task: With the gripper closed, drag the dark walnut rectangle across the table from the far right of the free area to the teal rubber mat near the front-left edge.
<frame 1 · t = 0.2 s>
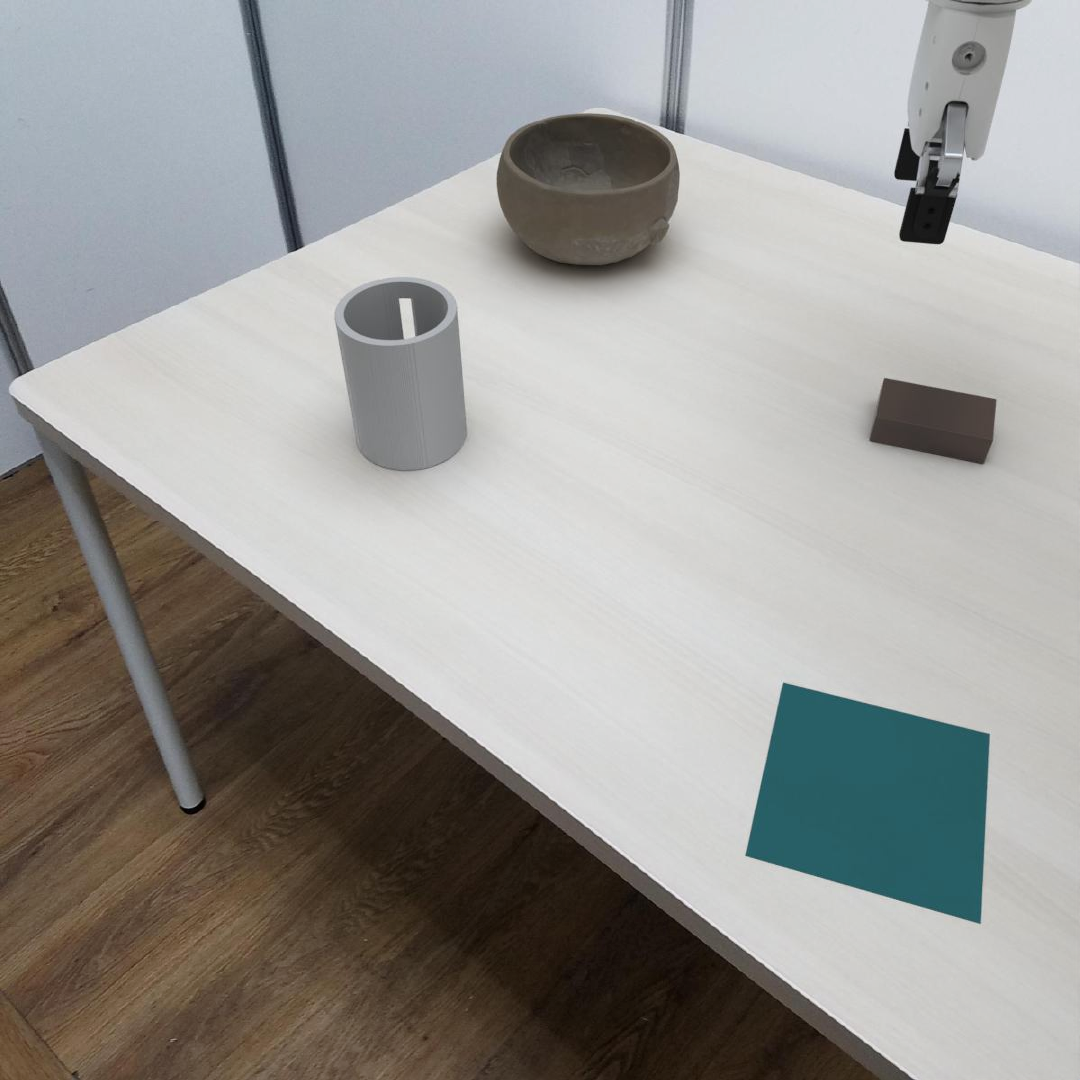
hand: (917, 208, 83), 15 cm above the table, tool pointing down, fingers open, 9 cm apart
walnut block: (929, 431, 88), on the table
mat: (872, 793, 64), on the table
cup: (411, 435, 88), on the table
bowl: (586, 243, 110), on the table
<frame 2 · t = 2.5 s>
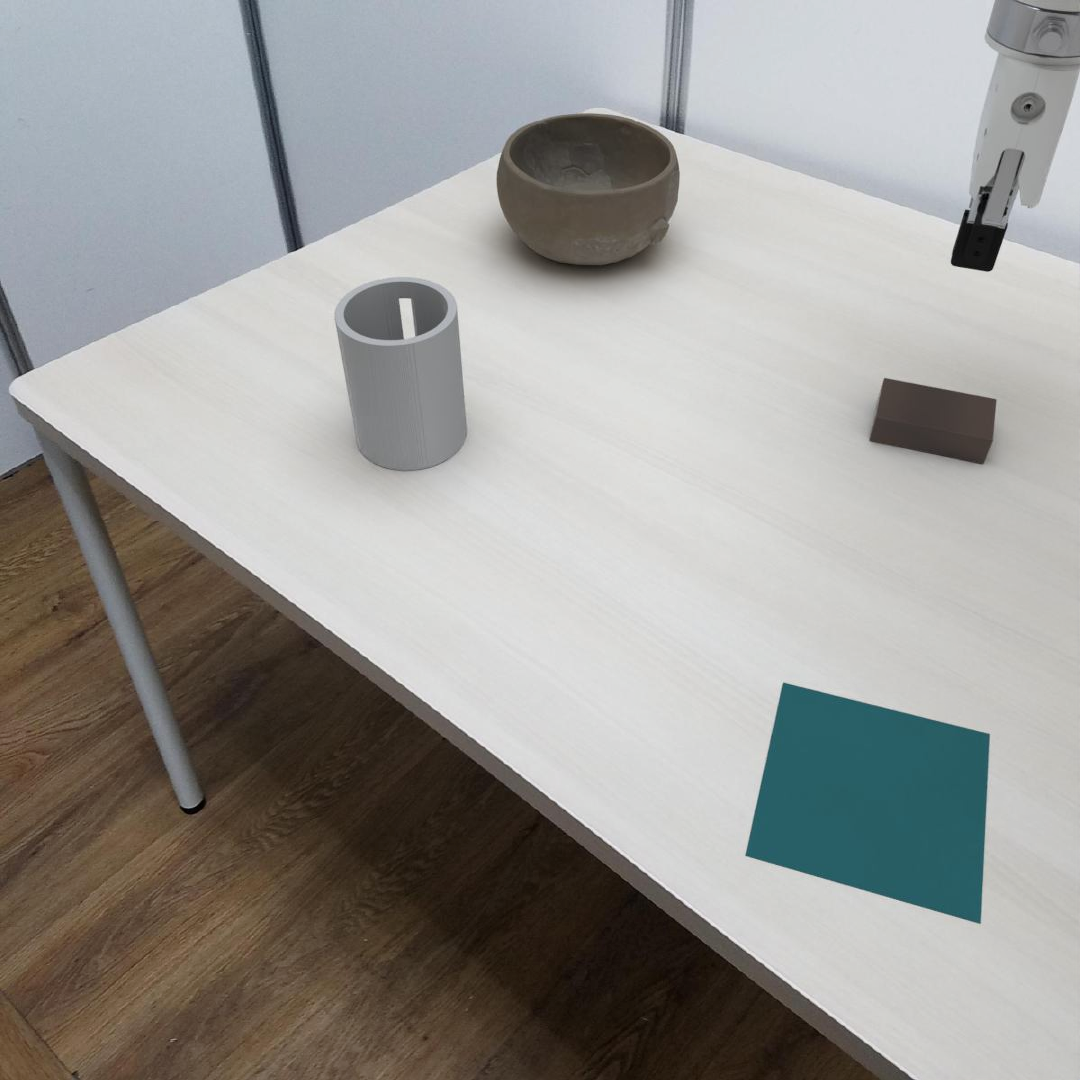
hand: (971, 263, 84), 12 cm above the table, tool pointing down, fingers closed
nothing on the table moved.
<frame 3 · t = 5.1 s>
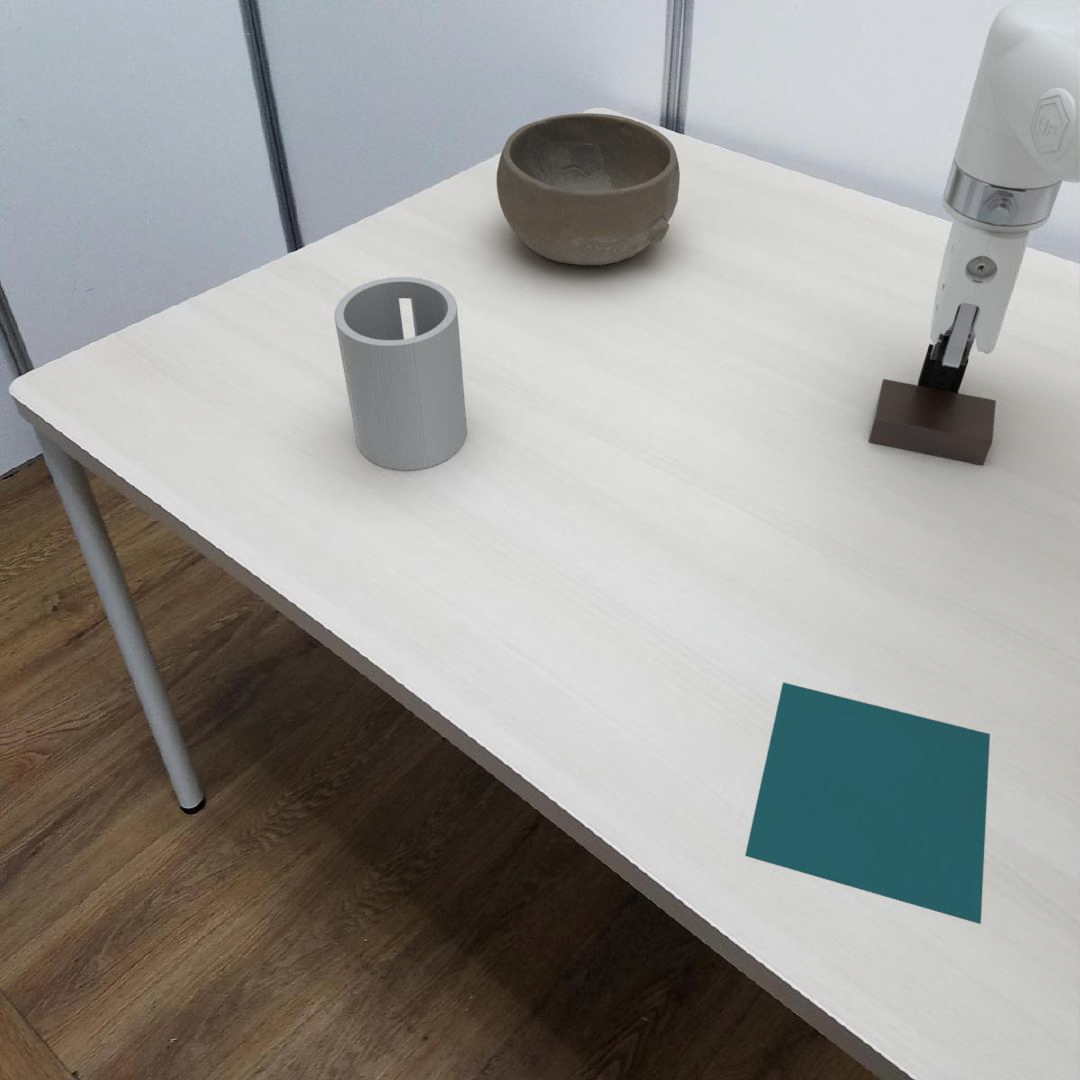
hand: (936, 391, 90), 1 cm above the table, tool pointing down, fingers closed
walnut block: (928, 432, 88), on the table, touching gripper
everything else where it was.
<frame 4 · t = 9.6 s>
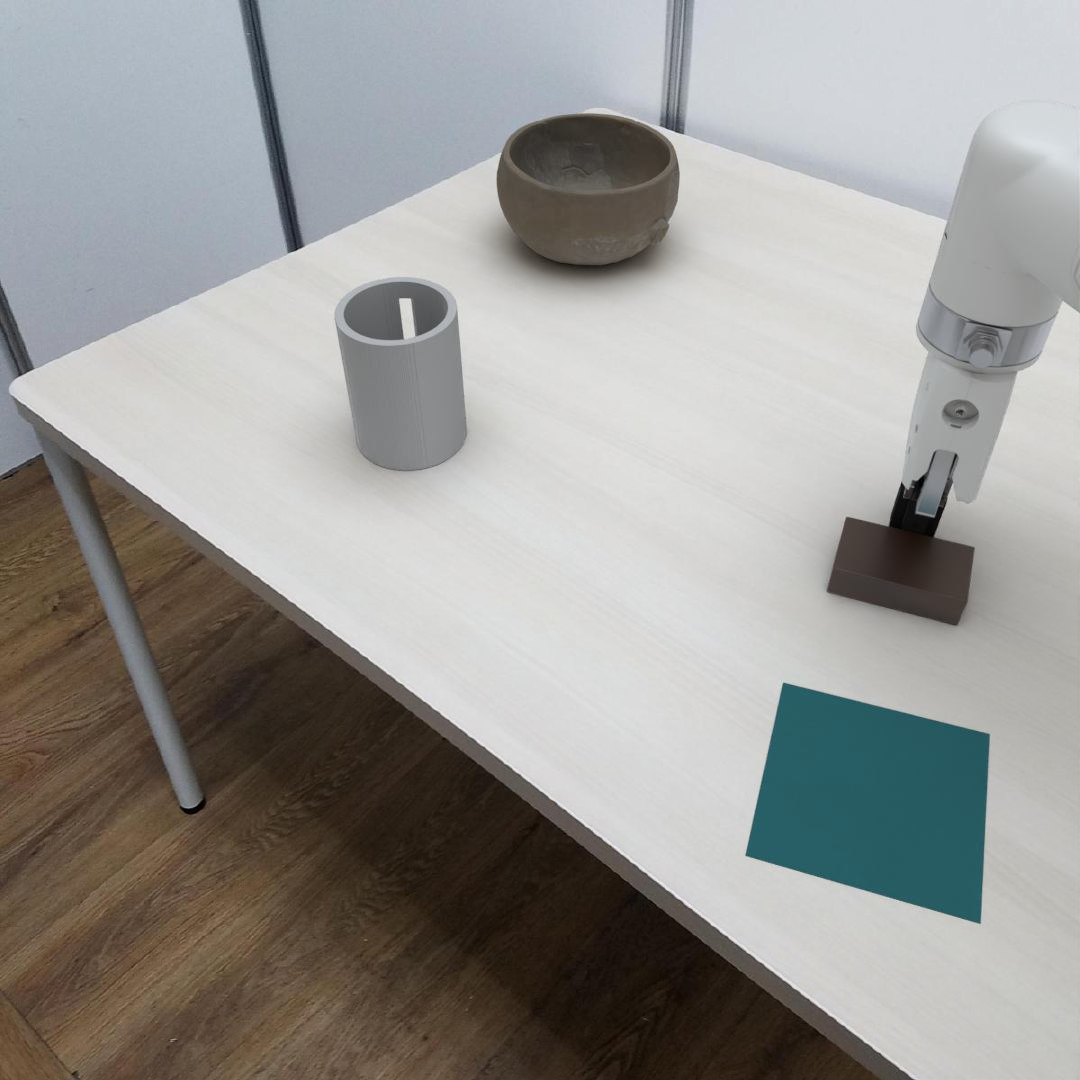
hand: (910, 528, 78), 1 cm above the table, tool pointing down, fingers closed
walnut block: (896, 581, 76), on the table, touching gripper
everything else where it was.
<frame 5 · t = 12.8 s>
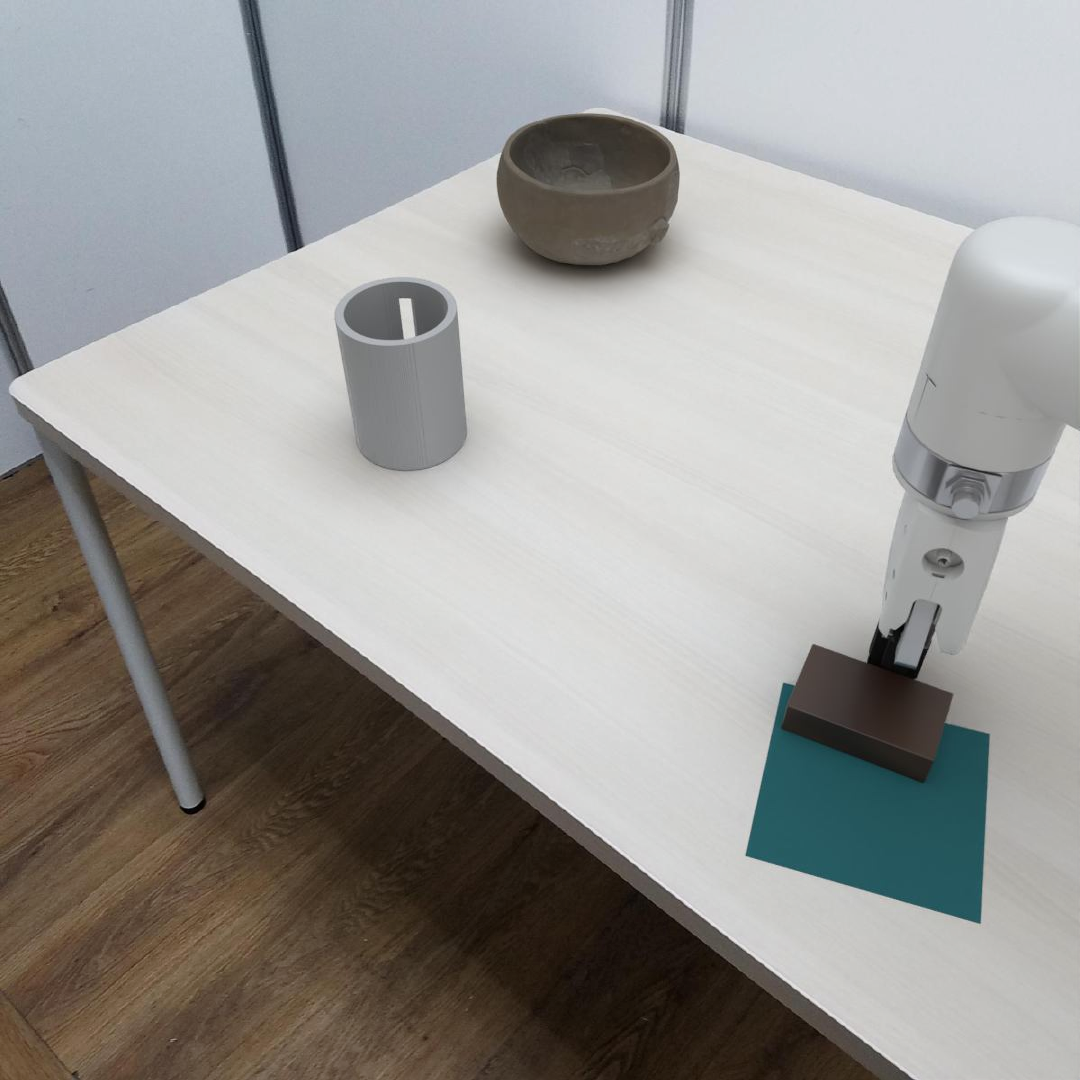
hand: (892, 664, 70), 1 cm above the table, tool pointing down, fingers closed
walnut block: (862, 722, 68), on the table, touching mat
everything else where it was.
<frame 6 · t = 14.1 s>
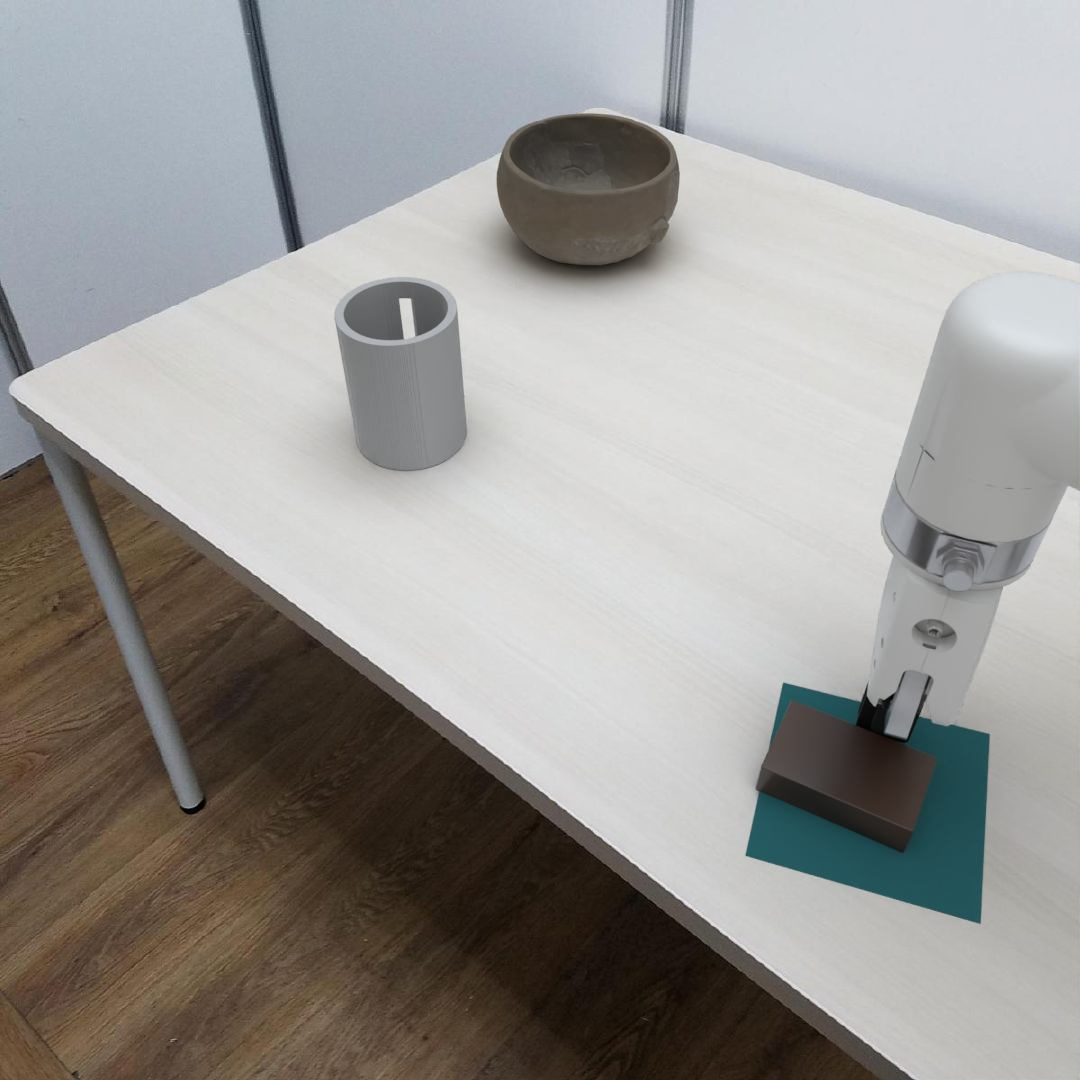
hand: (882, 726, 66), 1 cm above the table, tool pointing down, fingers closed
walnut block: (841, 784, 65), on the table, touching gripper, mat
everything else where it was.
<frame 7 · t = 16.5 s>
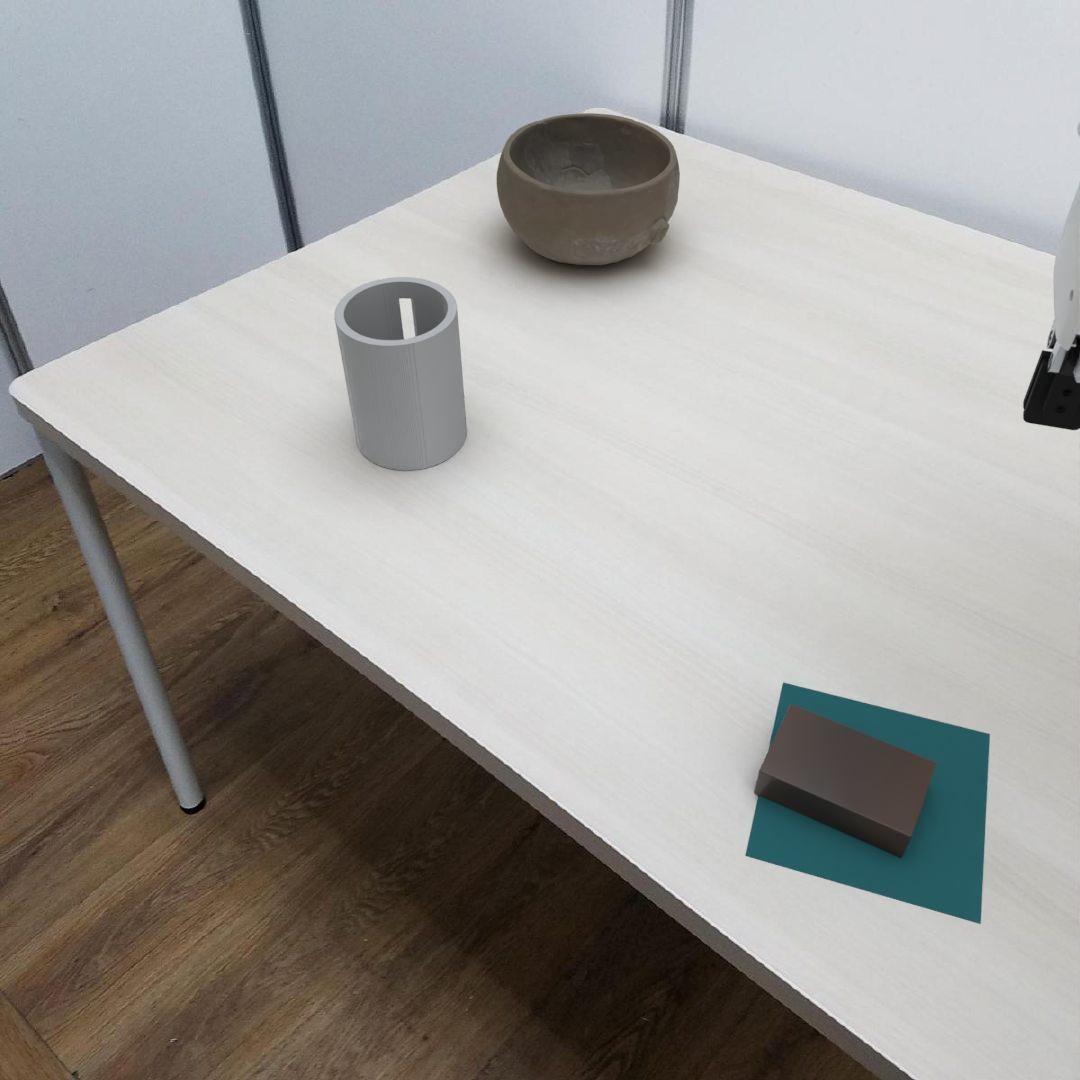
hand: (1050, 417, 63), 17 cm above the table, tool pointing down, fingers closed
walnut block: (840, 789, 64), on the table, touching mat
everything else where it was.
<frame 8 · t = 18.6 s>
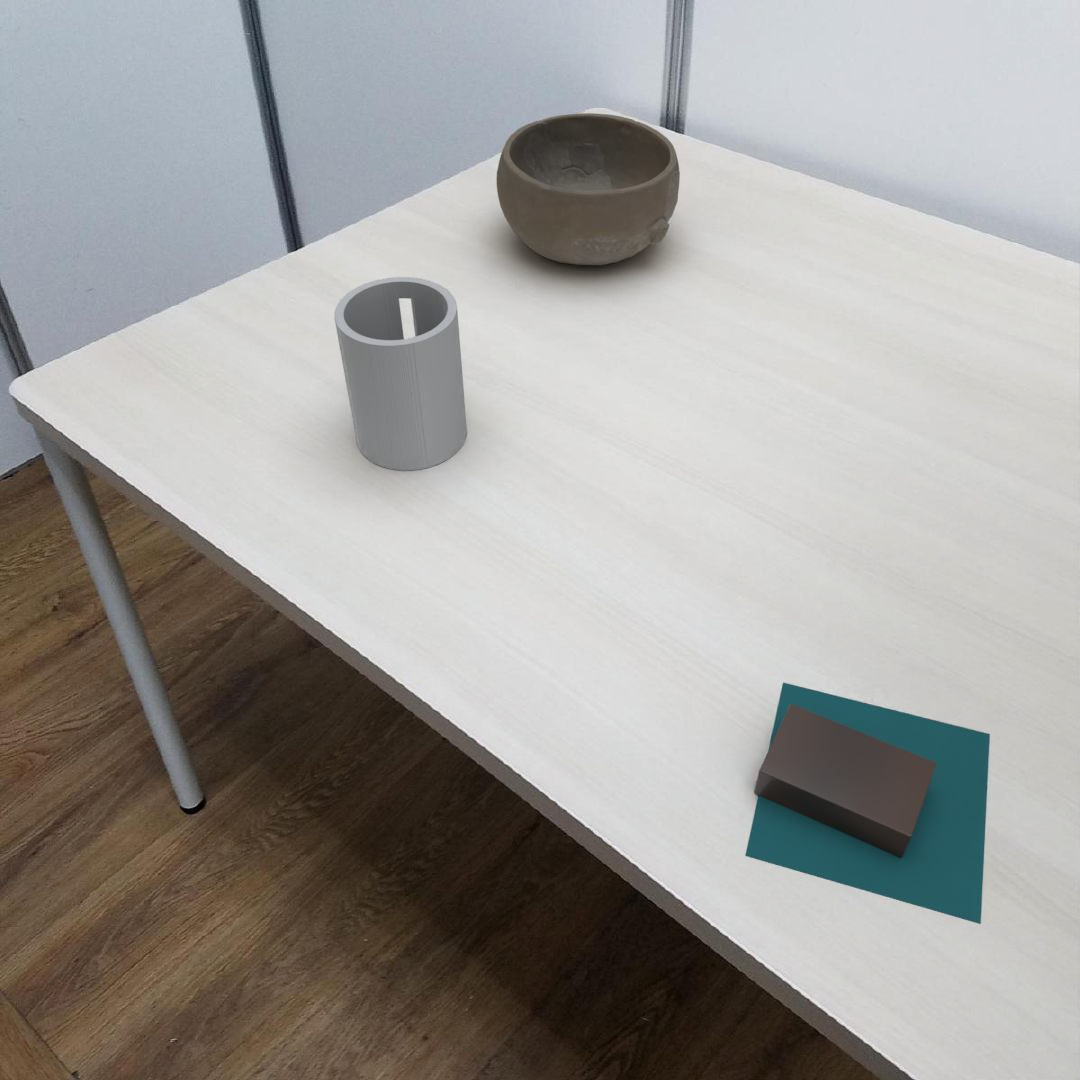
nothing on the table moved.
at the end: walnut block inside the target area on the mat (2.0 cm from its centre), point 0.2 cm above the mat's base; walnut block moved 36.2 cm from its start; walnut block tilted 0° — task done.
